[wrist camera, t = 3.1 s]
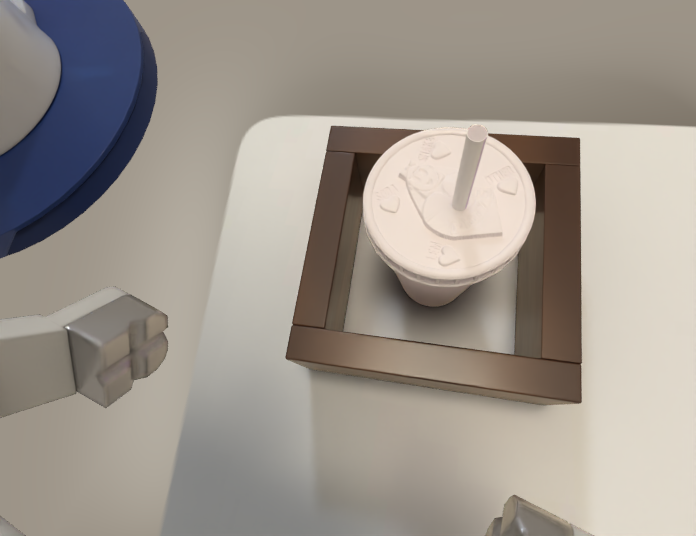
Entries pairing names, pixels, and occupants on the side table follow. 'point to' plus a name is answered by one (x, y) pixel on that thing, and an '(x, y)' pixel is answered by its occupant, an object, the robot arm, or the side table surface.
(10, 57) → the robot arm
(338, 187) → the crate
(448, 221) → the smoothie
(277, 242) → the side table surface
